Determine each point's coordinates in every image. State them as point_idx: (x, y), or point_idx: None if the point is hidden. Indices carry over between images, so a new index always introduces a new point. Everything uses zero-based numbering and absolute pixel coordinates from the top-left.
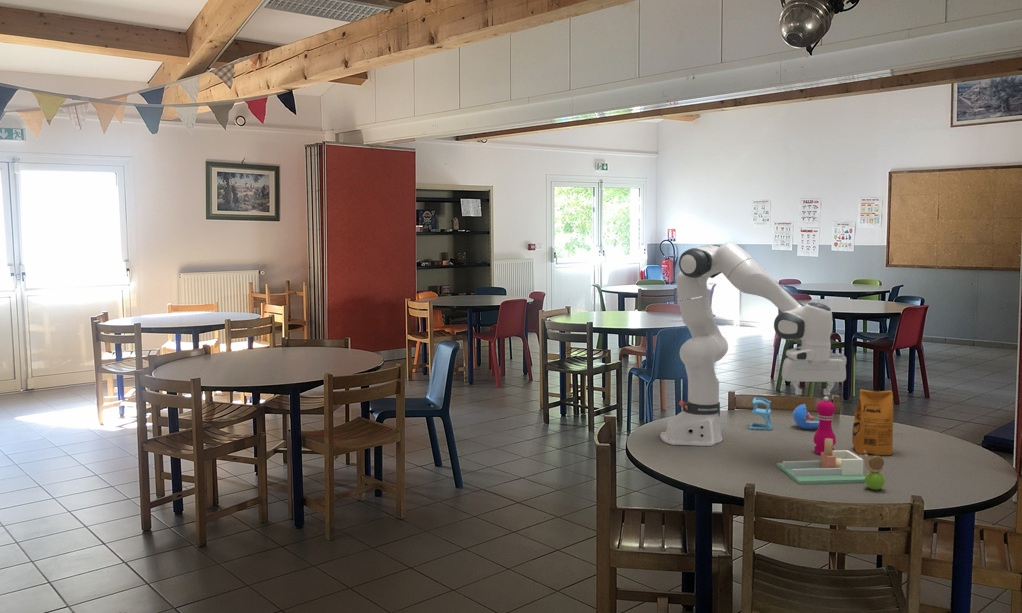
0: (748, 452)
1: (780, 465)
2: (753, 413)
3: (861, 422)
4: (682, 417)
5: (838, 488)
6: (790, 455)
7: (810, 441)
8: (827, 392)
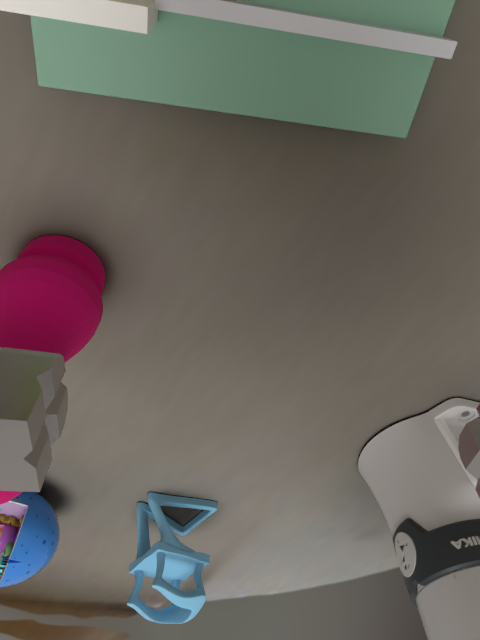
0: (379, 323)
1: (420, 90)
2: (204, 554)
3: None
4: None
5: None
6: (236, 263)
7: None
8: (6, 379)
